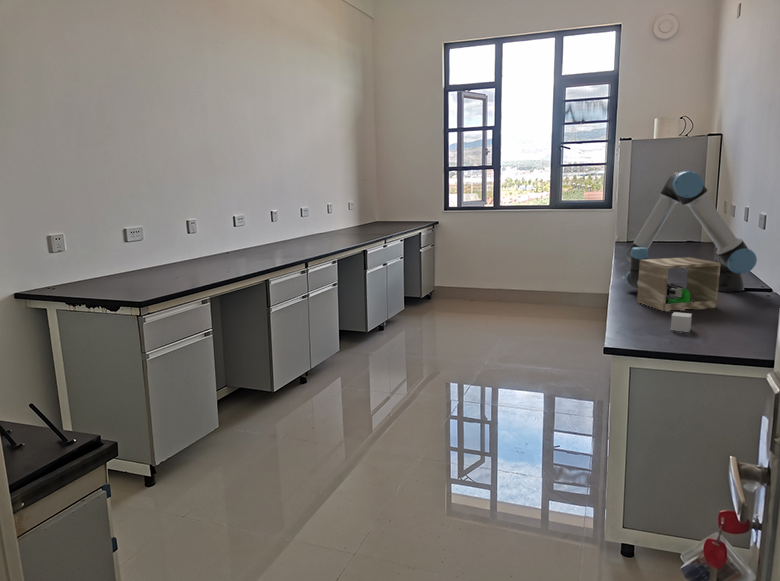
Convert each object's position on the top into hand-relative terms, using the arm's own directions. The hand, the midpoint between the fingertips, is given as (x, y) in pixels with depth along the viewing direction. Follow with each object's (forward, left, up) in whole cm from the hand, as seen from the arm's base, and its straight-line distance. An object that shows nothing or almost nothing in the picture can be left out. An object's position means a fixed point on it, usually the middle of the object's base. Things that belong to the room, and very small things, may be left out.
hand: (684, 293), depth 239 cm
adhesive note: (+24, +30, -6) cm, 39 cm away
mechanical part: (-2, -3, -6) cm, 7 cm away
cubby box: (0, -6, -6) cm, 8 cm away
